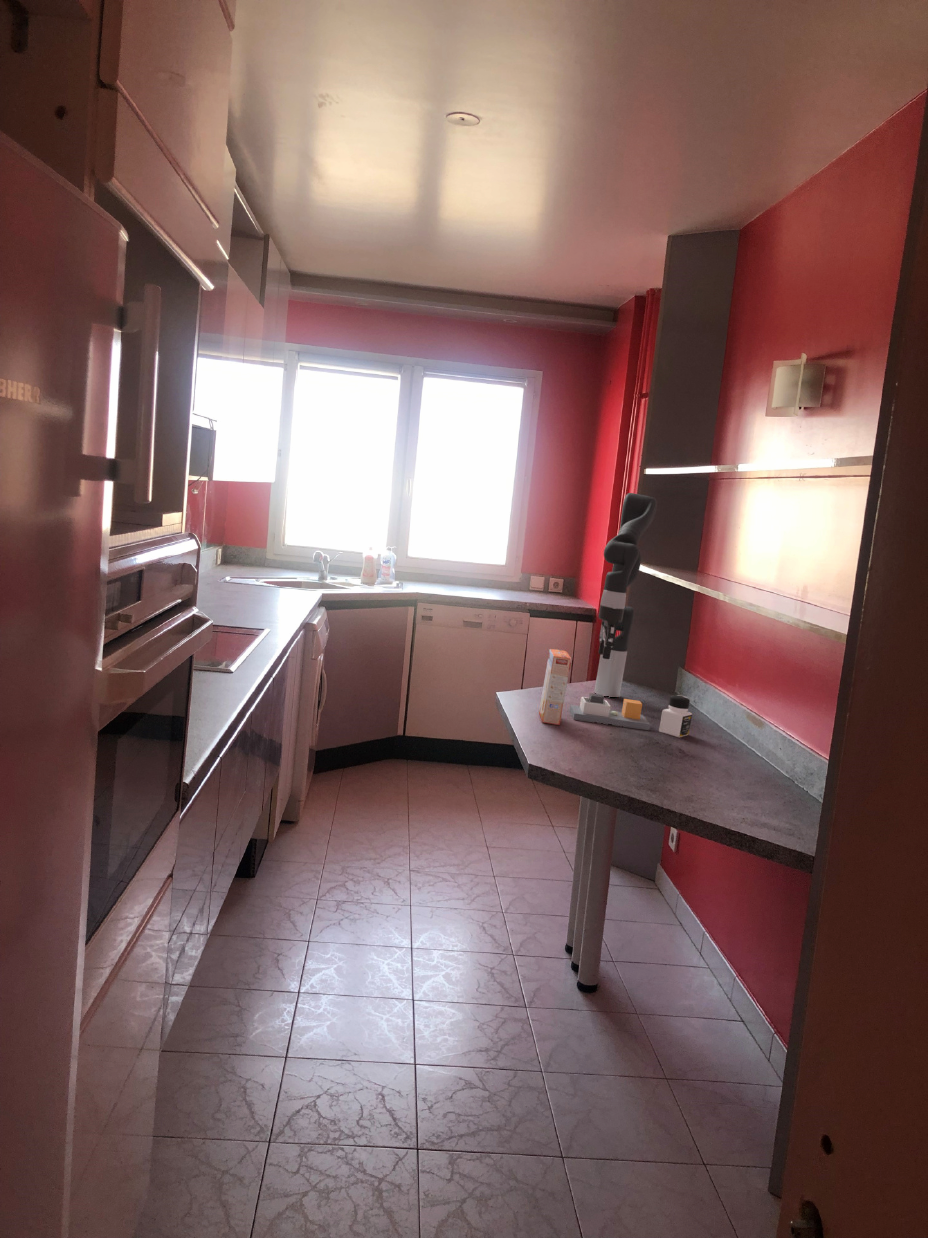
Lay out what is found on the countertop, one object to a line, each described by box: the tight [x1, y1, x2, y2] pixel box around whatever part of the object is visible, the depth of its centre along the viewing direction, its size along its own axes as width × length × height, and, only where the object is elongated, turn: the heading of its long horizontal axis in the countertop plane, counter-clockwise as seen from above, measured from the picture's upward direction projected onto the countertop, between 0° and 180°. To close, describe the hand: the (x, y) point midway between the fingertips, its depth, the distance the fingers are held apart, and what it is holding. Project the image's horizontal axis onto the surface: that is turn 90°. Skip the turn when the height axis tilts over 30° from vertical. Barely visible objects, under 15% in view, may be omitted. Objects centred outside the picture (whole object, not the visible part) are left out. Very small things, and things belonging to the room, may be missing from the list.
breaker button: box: [588, 692, 605, 704], centre depth 286 cm, size 4×4×2 cm
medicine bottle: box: [658, 694, 693, 738], centre depth 282 cm, size 7×7×12 cm
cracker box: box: [538, 648, 572, 726], centre depth 275 cm, size 14×6×21 cm, turn 179°
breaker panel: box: [568, 696, 651, 731], centre depth 287 cm, size 12×24×6 cm, turn 90°
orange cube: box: [621, 698, 643, 720], centre depth 288 cm, size 5×5×5 cm
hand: (603, 656), depth 284 cm, fingers open, 7 cm apart
